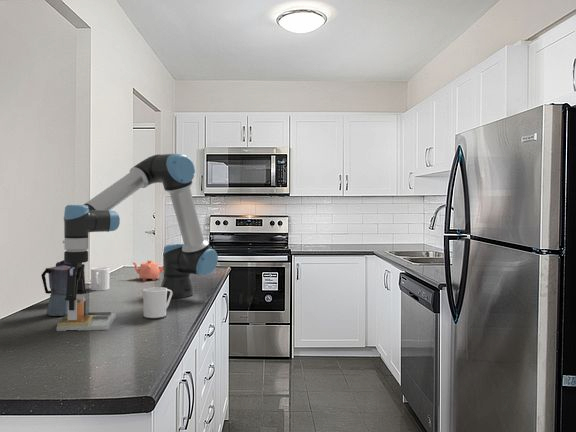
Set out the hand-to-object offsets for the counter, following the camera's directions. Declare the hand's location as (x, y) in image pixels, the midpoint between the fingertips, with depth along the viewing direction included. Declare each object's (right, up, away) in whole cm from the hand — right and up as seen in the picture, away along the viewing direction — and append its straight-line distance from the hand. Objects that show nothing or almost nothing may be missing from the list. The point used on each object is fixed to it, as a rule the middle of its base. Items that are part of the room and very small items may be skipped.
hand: (76, 316), depth 172 cm
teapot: (-1, 0, +95) cm, 95 cm away
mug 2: (+23, -4, +17) cm, 29 cm away
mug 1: (-16, -1, +65) cm, 67 cm away
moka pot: (-13, -3, +17) cm, 22 cm away
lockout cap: (0, -2, +1) cm, 2 cm away
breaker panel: (+2, -4, +5) cm, 6 cm away
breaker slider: (-2, -2, +9) cm, 9 cm away
